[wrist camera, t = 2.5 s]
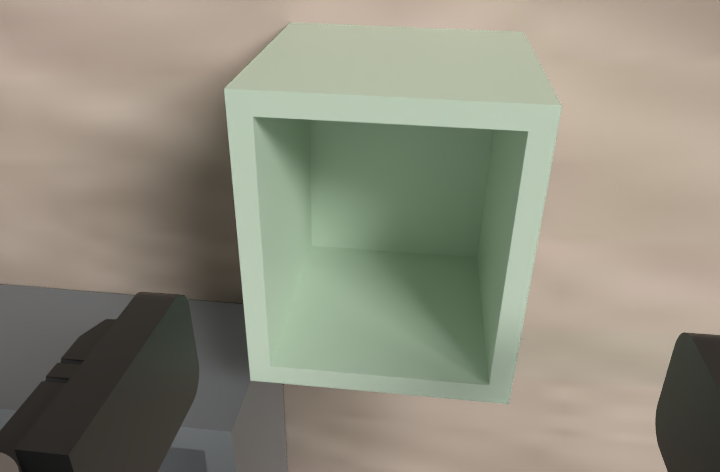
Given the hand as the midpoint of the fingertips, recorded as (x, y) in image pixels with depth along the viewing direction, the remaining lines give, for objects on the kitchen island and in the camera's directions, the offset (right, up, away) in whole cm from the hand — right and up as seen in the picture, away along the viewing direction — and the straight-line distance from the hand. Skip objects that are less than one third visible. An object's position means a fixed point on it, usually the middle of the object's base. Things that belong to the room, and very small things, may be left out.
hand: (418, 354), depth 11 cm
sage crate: (0, +4, +8) cm, 9 cm away
